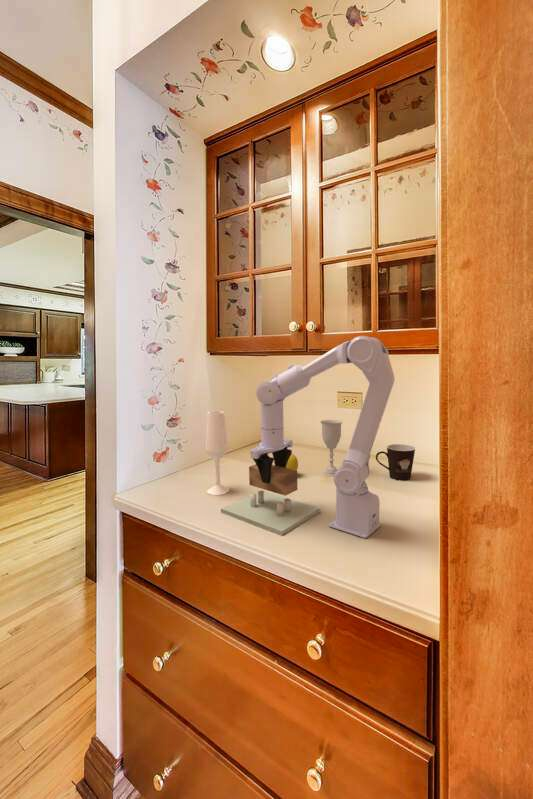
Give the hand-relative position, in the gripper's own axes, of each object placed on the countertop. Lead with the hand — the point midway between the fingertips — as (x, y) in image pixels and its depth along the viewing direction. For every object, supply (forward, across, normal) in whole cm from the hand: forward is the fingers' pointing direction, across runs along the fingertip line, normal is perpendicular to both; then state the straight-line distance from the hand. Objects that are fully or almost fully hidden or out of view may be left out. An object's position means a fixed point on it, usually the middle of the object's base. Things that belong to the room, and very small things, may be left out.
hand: (273, 479), depth 95 cm
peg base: (+8, +1, 0) cm, 8 cm away
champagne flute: (+9, -1, -22) cm, 24 cm away
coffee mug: (+9, -45, +15) cm, 48 cm away
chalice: (+9, -35, -3) cm, 36 cm away
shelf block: (+2, 0, 0) cm, 2 cm away
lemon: (+9, -25, -13) cm, 29 cm away
